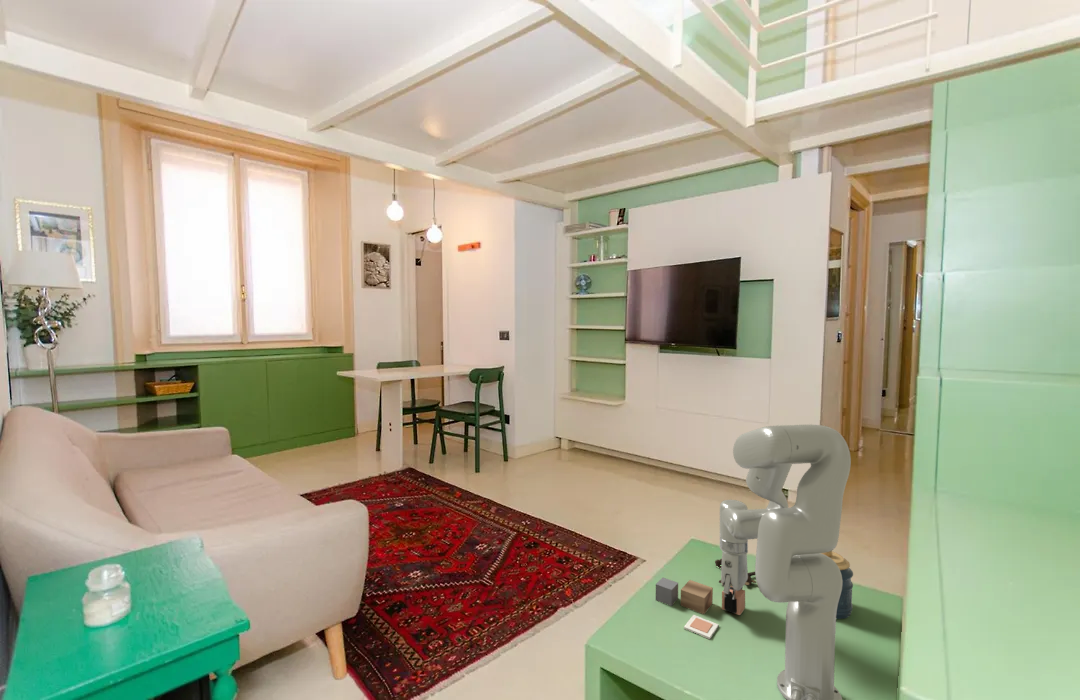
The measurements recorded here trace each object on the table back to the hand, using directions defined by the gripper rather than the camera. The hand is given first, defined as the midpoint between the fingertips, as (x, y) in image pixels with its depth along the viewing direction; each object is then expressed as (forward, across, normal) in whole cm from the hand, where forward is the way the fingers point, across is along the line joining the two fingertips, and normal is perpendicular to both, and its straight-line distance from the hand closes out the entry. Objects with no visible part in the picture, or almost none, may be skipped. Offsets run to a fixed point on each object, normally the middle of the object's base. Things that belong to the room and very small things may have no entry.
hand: (733, 606), depth 134 cm
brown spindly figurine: (+2, +21, +6) cm, 21 cm away
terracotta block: (+1, 0, 0) cm, 1 cm away
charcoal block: (+1, -6, +18) cm, 19 cm away
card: (+2, -14, +4) cm, 14 cm away
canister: (+2, +20, -20) cm, 28 cm away
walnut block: (+2, -4, +10) cm, 10 cm away
